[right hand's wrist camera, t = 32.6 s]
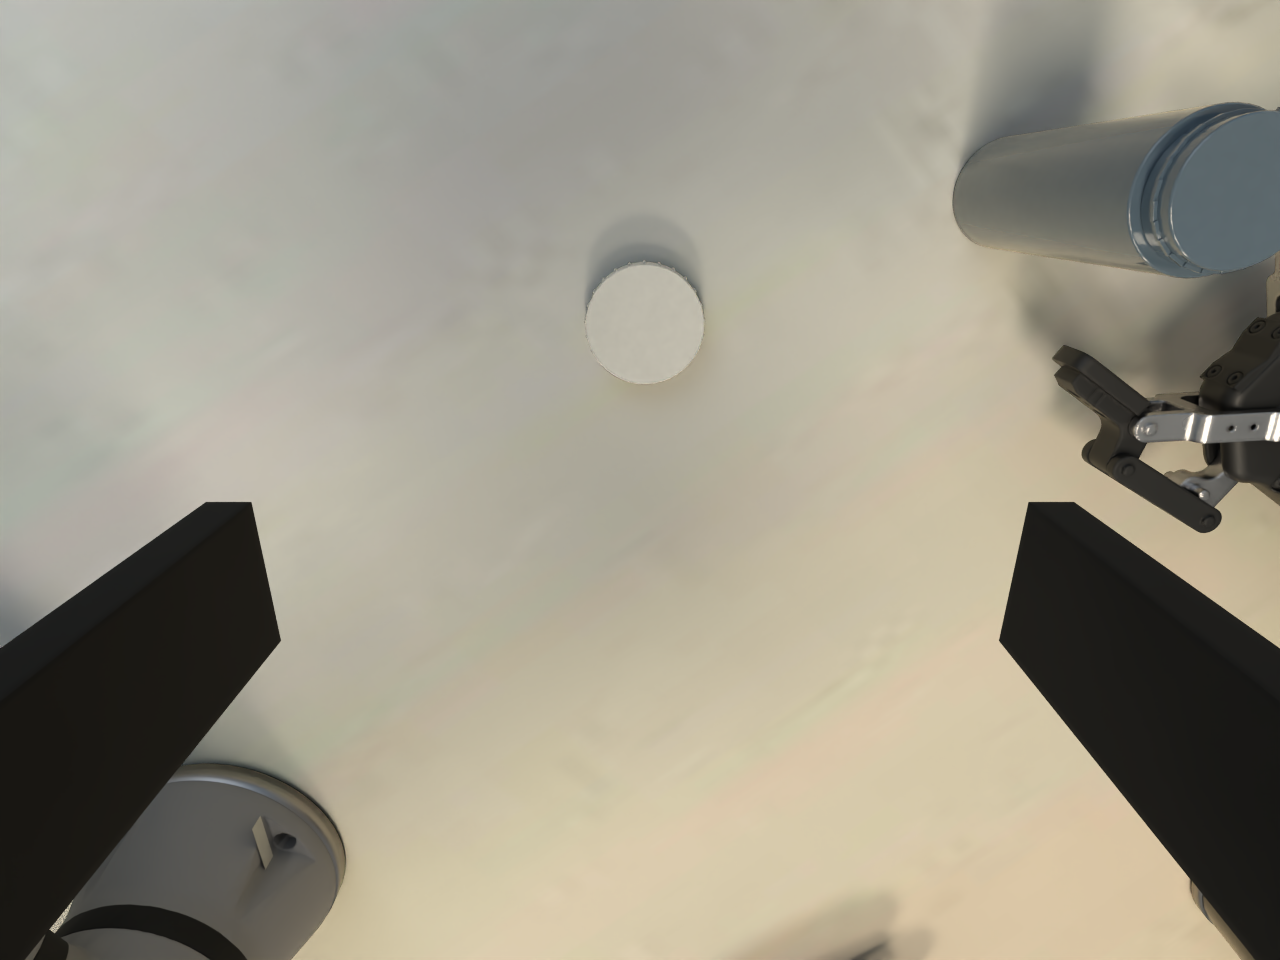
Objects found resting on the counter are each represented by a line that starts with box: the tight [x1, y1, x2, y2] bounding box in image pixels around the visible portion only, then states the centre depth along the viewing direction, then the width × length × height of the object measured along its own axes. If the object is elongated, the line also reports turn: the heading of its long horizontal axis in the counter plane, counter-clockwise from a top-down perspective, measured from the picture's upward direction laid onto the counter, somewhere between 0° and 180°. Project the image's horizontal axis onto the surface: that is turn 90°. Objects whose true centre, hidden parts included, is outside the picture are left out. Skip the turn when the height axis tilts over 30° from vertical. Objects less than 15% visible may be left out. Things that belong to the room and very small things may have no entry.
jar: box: [953, 102, 1280, 278], centre depth 27 cm, size 5×5×15 cm
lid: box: [584, 260, 705, 384], centre depth 36 cm, size 6×6×2 cm
